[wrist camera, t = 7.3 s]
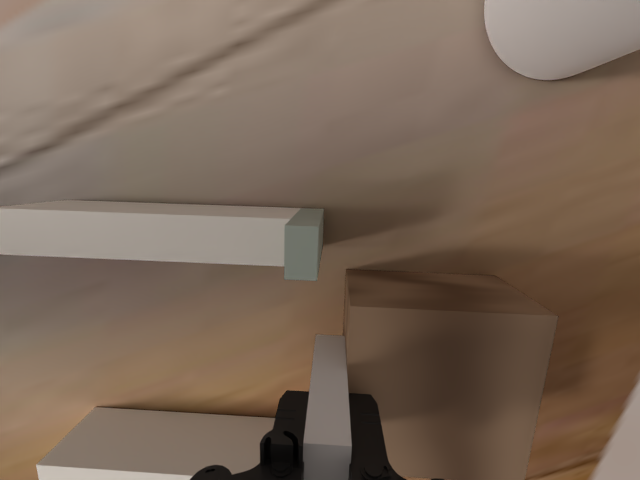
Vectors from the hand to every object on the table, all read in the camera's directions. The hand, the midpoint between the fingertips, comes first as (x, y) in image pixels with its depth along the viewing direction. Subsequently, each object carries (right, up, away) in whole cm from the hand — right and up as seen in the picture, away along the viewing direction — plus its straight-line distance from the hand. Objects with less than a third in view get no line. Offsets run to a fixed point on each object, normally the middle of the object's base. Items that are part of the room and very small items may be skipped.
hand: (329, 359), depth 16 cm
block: (+5, 0, +2) cm, 5 cm away
